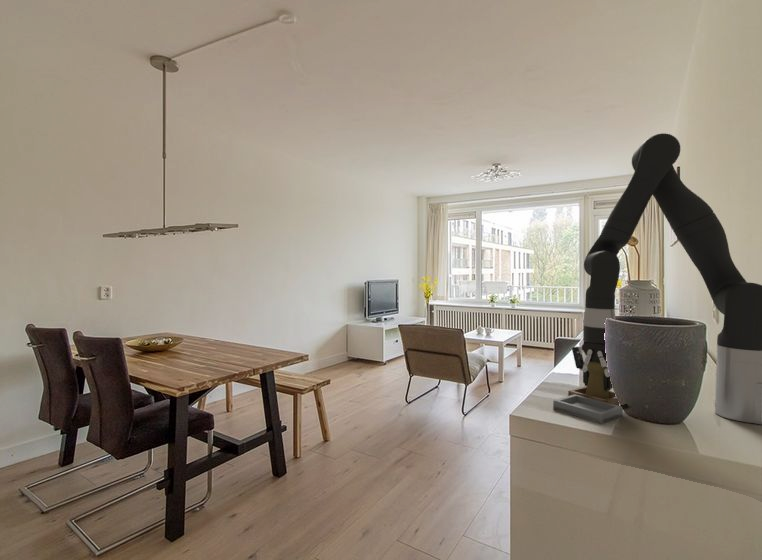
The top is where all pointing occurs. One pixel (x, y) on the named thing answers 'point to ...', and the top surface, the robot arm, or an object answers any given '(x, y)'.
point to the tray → (588, 408)
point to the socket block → (582, 392)
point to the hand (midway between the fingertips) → (597, 387)
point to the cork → (596, 381)
